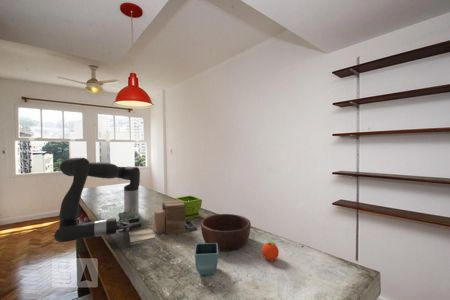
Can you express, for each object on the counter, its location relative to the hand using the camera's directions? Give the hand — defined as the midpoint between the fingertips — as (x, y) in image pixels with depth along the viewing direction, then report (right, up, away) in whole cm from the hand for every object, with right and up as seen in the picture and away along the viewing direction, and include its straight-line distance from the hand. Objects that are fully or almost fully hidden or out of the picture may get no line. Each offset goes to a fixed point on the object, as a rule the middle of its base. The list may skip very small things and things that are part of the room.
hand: (140, 222), depth 114 cm
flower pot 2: (+38, -8, -32) cm, 51 cm away
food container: (-11, -7, +12) cm, 17 cm away
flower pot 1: (+21, -7, +30) cm, 37 cm away
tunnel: (+16, -7, +8) cm, 19 cm away
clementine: (+65, -8, -23) cm, 69 cm away
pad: (+1, -7, 0) cm, 7 cm away
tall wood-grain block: (+14, -7, +7) cm, 17 cm away
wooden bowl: (+46, -8, -7) cm, 47 cm away
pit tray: (+24, -7, +12) cm, 28 cm away
